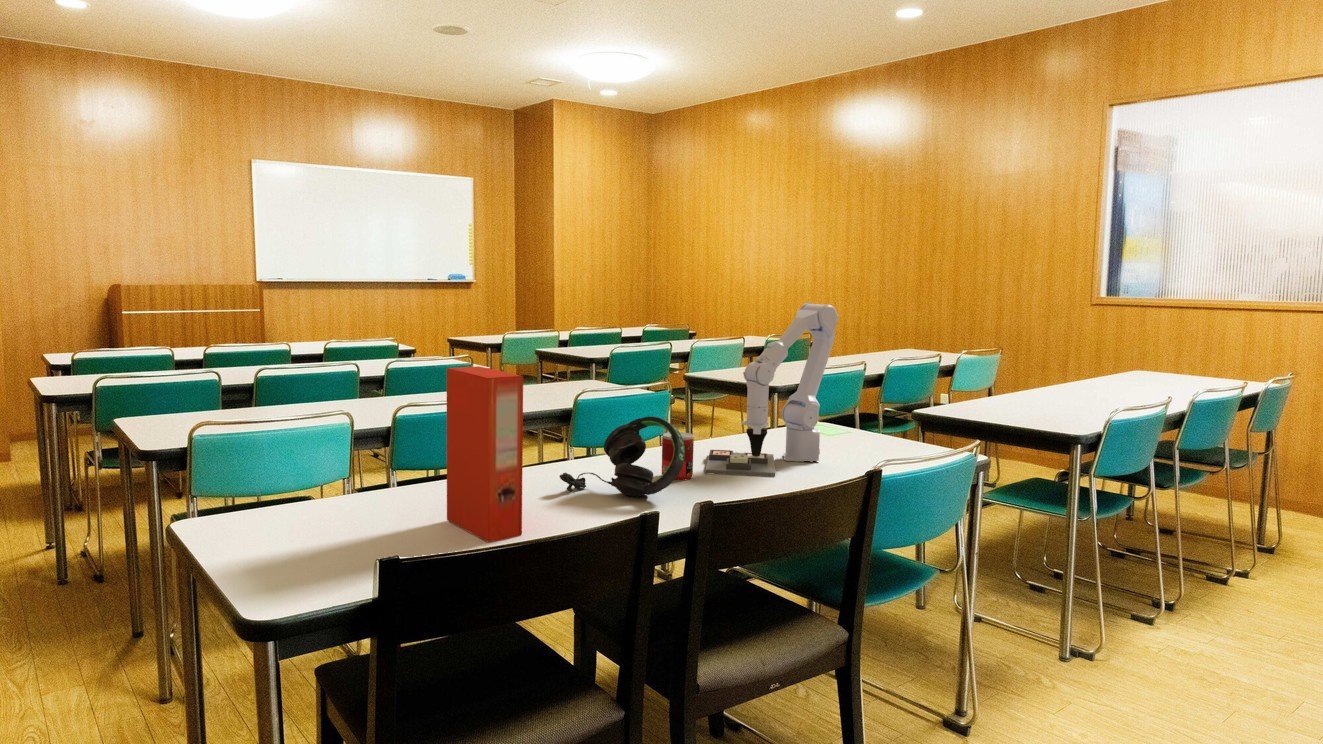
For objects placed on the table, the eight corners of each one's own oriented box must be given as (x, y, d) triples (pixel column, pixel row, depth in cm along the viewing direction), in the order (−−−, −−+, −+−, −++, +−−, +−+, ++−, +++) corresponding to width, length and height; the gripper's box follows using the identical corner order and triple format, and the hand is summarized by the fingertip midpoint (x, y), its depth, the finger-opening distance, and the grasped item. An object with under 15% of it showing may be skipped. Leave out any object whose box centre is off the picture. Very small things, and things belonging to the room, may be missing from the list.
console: (773, 457, 242) (773, 449, 242) (775, 476, 221) (775, 467, 220) (709, 455, 244) (709, 446, 244) (705, 473, 222) (705, 464, 222)
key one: (764, 458, 236) (764, 454, 236) (764, 462, 231) (764, 457, 231) (747, 458, 236) (747, 453, 236) (747, 461, 232) (747, 457, 232)
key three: (729, 455, 239) (729, 451, 239) (729, 459, 234) (729, 454, 234) (713, 455, 239) (713, 450, 239) (712, 458, 235) (712, 454, 234)
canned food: (692, 481, 214) (694, 438, 213) (661, 480, 214) (661, 437, 213) (692, 473, 222) (693, 432, 220) (661, 473, 222) (662, 431, 221)
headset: (595, 524, 205) (699, 480, 195) (562, 513, 194) (670, 465, 184) (583, 457, 214) (681, 412, 204) (550, 443, 203) (652, 394, 193)
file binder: (482, 514, 183) (481, 365, 178) (523, 535, 169) (523, 375, 165) (446, 521, 177) (445, 368, 173) (486, 543, 164) (485, 378, 160)
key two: (747, 459, 228) (747, 454, 228) (747, 463, 224) (747, 458, 223) (730, 458, 229) (730, 454, 228) (729, 462, 224) (730, 457, 224)
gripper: (743, 401, 239) (741, 449, 241) (742, 410, 225) (740, 460, 227) (768, 402, 239) (766, 450, 240) (769, 411, 224) (767, 461, 226)
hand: (755, 455), depth 234 cm, fingers closed
